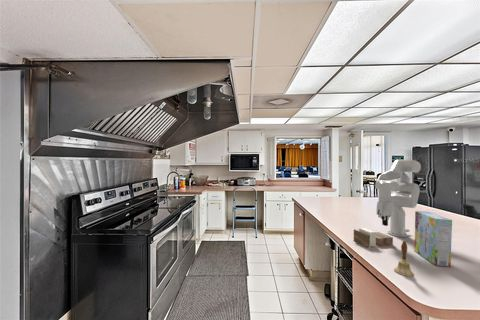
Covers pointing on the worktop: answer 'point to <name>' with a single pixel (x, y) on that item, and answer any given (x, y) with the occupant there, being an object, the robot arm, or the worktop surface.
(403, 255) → the hand bell
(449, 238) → the snack box
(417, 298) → the worktop surface
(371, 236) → the carton
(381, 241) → the podium
